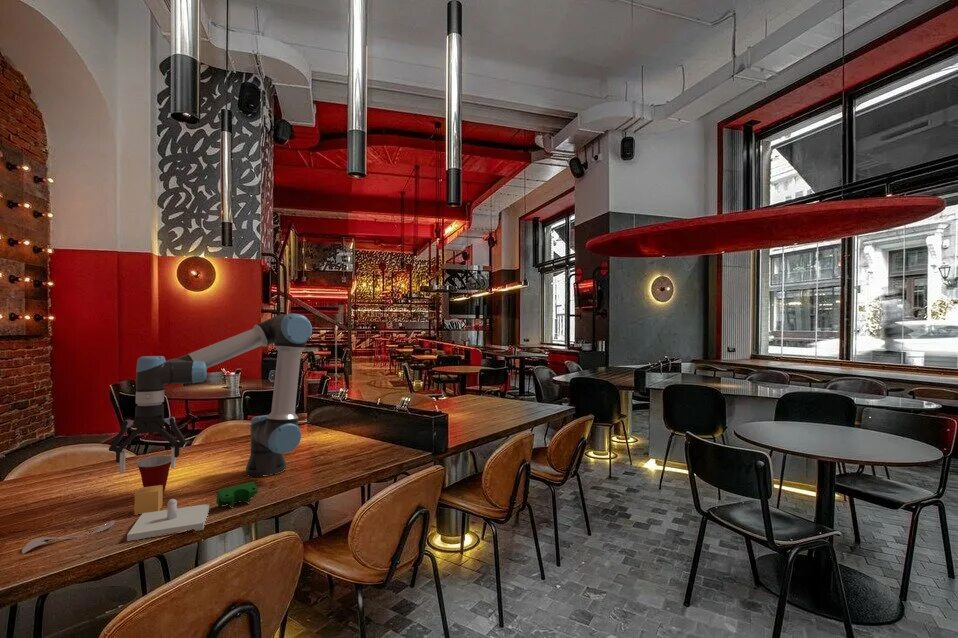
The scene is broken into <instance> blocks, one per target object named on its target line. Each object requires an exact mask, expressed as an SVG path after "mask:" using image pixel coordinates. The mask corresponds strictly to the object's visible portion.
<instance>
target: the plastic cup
mask: <svg viewBox="0 0 958 638" xmlns="http://www.w3.org/2000/svg"><path fill="white" fill-rule="evenodd" d="M136 467H138V470H139V472H140V478H141V482H142V487H149V486H157V485H163V493H165V490H166V486H167V482H168V478H169V472H170V469H171V455H167V454H166V455H164V454H161V455H153V456H152V455H151V456H149V457H145V458H142V459H139V460H138V461H137V462H136Z"/></svg>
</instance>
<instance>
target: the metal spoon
mask: <svg viewBox="0 0 958 638" xmlns="http://www.w3.org/2000/svg"><path fill="white" fill-rule="evenodd" d="M116 523H117V520H110V521H108V522H107V523H104V524H103V525H100V526H99V527H97V528H95V529H92V530H91V531H89V532H90V533H95V532H99V533H100V531H101V532H103V531H105V530H107V529H109V528H110V527H112V526H113V525H115V524H116ZM92 531H93V532H92ZM89 532H85V533H82V534H78V535H74V536H66V537H64V536H62V537H61V536H59V537H54V536H53V537H51V536H50V537H49V536H41V537H40V536H39V537H36V538H32V540H30V541H28V542H27V543H26V545H25V546H24V547H23V548H22V550H21V554H23V555H24V554H26V553H27V552H29V551H31V550H32V549H35V548H37V547H38V546H40V545H43V544H45V543H49V542H51V541H55V540H65V539H68V540H69V539H77V538H76V537H79V536H82V535H84V534H90V533H89ZM82 537H83V536H82ZM79 538H80V537H79Z"/></svg>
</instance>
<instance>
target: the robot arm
mask: <svg viewBox="0 0 958 638" xmlns="http://www.w3.org/2000/svg"><path fill="white" fill-rule="evenodd" d="M312 334H313V327H312V324H311V321H310V319H308V317H306V316H305V315H303V314H300V313H288V314H277V315H274V316H272V317H270V318H268V319H266V320H264V321H262V322H259V323H256V324H254V326H253V327H252V328H251V329H248V330H246V331H244V332H241V333H237V334H236V335H233V336H230V337H228V338H226V339H223V340H221V341H217V342H215V343H213V344H210V345H208V346H206V347H203V348H200V349H197V350H195V351H192V352H190V353H188V354H184V355H182V356H180V357H177V358H172V359H171V358H170V359H168V360H166V358H165V356H163V355H150V356H149V355H148V356H147V355H146V356H144V355H143V356H140V357H138V358H137V362H136V370H135V373H136V374H135V404H136V406H135V410H134V411H135V412H134V413H135V414H134V420H130V419H125V420H123V421H122V423H121V428H120V430H119V432H118V433H117V435H116V437H115V438H114V440H113V441H112V443H111V445H110V447H109V448H108V451H109V452H114V453H115V462H116V463H117V464H119V474H121V475H122V474H123V473H124V472H126V450H124V449H125V448H126V447H127V446H128V445H129V444H130V442H131V443H132V441H133V440H134V439H135V438H136V437H137V436H138V434H144V435H146V434H149V433H150V434H155V433H158V434H159V435H161V436H162V437H163V438H164V439H165V440H166V441H167V442H169V444H171V446H172V447H171V452H170V453H171V455H170V456H171V465H170V469H171V470H172V469H174V468H175V467H176V462H177V461H176V460H177V458H179V456H180V448H181V447H183V446H184V445H185V444H186V443H187V439H186V438H185V437H184V435H183V433H182V431H181V430H180V428H179V427H178V424H177V422H176V416H171V417H167V418H165V404H164V402H165V386H166V385H174V384H176V385H178V384H195V383H203V382H204V381H205V380H206V379H207V374H208V372H207V371H208V369H209V368H211V367H213V366H216V365H218V364H221V363H223V362H226V361H228V360H230V359H233V358H235V357H237V356H240V355H242V354H244V353H247V352H249V351H252V350H254V349H256V348H259V347H261V346H262V347H268V346H270V345H273V344H274V348H275V349H276V351H277V355H276V356H277V357H276V366H275V372H274V373H275V375H274V383H273V394H272V402H271V412H270V413H269V414H265V415H257V416H253V417H252V418H251V420H250V425H249V426H250V456H249V457H248V460H247V464H246V467H245V476H247V475H249V476H248V477H250V476H263V475H270V474H275V473H278V472H281V471H283V470H284V469H286V470H287V462H286V459H285V456H284V455H285V454H287V453H290V452H292V451H294V450H295V449H296V448H297V447H298V446H299V444H300V442H301V440H302V431H301V428H300V427H299V416H298V415H297V413H296V405H297V396H298V395H297V394H298V385H299V377H300V376H299V375H300V366H301V357H302V352H303V351H305V350H306V347H307V342H308V340H309V339H311V337H312ZM165 423H166V424H167V425H168V426H169V427H170V428H171V430H172V432H173V433H174V436H175V437H176V438H177V439H176V438H175V437H174V436H172V434H171V433H170V432H169V431H167V430H166V428H165V427H164V426H163V425H164V424H165ZM132 425H133V426H134V427H135V430H133V432H132V433H131V434H130V435H129V436H128V437H126V439H125V440H124V441H123V443H121V444H120V442H121V440H122V438H123V437H124V435H125V434H126V432H127V431H128V429H129V428H130V427H132ZM119 444H120V445H119ZM118 445H119V446H118Z"/></svg>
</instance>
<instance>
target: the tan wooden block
mask: <svg viewBox="0 0 958 638" xmlns="http://www.w3.org/2000/svg"><path fill="white" fill-rule="evenodd" d="M163 493H164V492H163V485H157V486H149V487H143V486H141V487H139V488H138V489H137V490H136V492H134V515H136V516H139V515H138V514H142V513H148V512H155V511H161V509H162V507H163V506H162V505H163V503H164V502H163V501H164V500H163V498H164V497H163V495H164V494H163ZM160 508H161V509H160Z"/></svg>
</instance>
